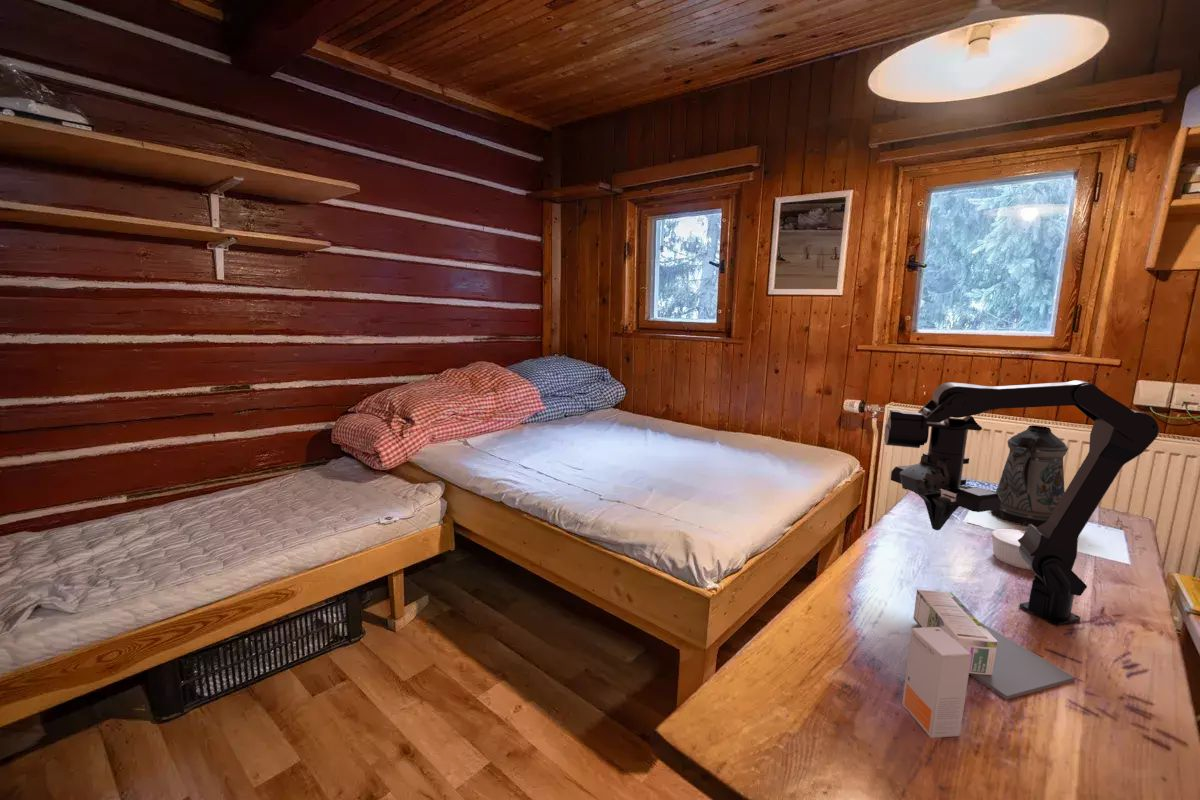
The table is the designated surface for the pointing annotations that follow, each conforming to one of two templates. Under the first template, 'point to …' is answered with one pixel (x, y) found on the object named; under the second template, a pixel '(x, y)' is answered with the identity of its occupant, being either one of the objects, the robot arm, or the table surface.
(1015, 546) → the ramekin
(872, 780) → the table surface
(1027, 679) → the mat
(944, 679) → the skincare box
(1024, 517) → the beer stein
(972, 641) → the syrup box
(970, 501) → the robot arm
